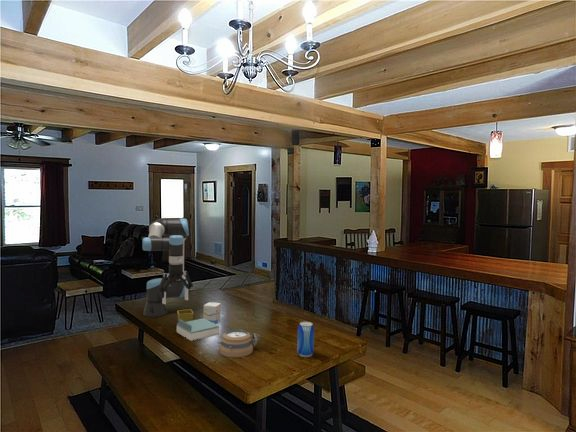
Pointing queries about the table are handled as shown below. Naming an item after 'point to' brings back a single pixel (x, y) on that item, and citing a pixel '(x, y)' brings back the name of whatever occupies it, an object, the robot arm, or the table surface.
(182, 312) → the flower pot
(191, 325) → the lid
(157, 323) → the table surface
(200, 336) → the white square tray
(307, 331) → the beer can
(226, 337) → the alarm clock
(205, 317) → the ink box
